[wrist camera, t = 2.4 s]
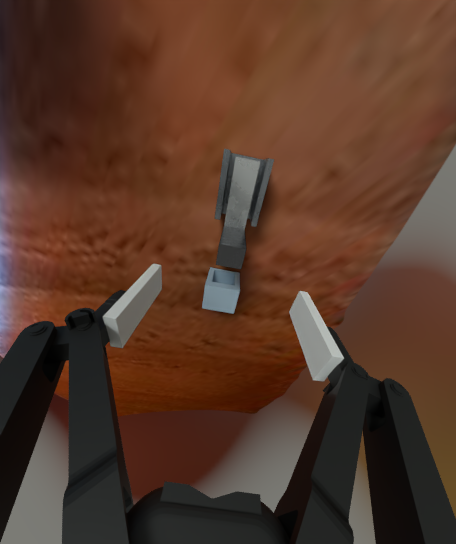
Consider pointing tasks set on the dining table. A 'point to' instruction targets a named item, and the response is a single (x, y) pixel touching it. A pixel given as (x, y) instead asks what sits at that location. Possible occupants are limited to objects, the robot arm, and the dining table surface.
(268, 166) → the open u-shaped channel
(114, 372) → the dining table surface
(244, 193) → the gray bent bar
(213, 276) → the socket
